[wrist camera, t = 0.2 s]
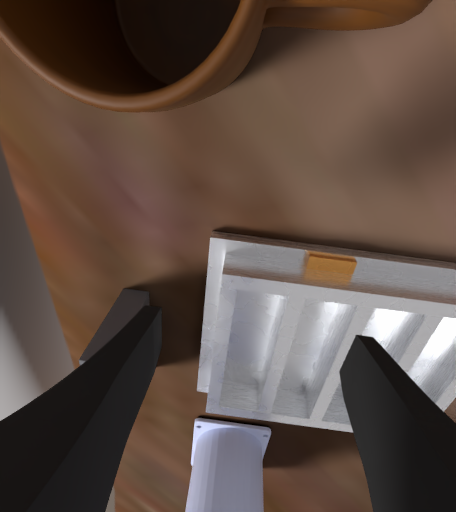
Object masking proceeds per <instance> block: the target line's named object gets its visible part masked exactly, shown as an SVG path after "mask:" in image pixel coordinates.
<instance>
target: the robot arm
mask: <svg viewBox="0 0 456 512" xmlns="http://www.w3.org/2000/svg"><path fill="white" fill-rule="evenodd" d="M161 347H162V307H154V306H147V305H145V306H143V307H142V308H141V309H140V310H139V311H138V312H137V313H136V314H135V315H134V317H133V318H132V319H131V320H130V321H129V322H128V323H127V324H126V325H125V326H124V327H123V328H122V329H121V330H120V331H119V332H118V333H117V334H115V335H114V336H113V337H112V338H111V339H110V340H109V341H108V342H107V343H106V344H105V345H104V346H103V347H102V348H100V349H99V350H98V351H97V352H96V353H95V354H93V355H92V356H91V357H90V358H89V359H88V360H86V361H85V362H84V363H83V364H82V365H80V366H79V367H78V368H77V369H75V370H74V371H73V372H72V373H71V374H69V375H68V376H67V377H65V378H64V379H63V380H61V381H60V382H58V383H57V384H56V385H54V386H53V387H52V388H50V389H49V390H48V391H46V392H44V393H43V394H42V395H40V396H39V397H37V398H36V399H34V400H33V401H31V402H30V403H28V404H27V405H25V406H24V407H22V408H21V409H19V410H18V411H16V412H14V413H13V414H11V415H10V416H8V417H6V418H5V419H3V420H1V421H0V512H105V511H106V507H107V503H108V500H109V497H110V493H111V490H112V487H113V484H114V480H115V477H116V474H117V470H118V467H119V464H120V461H121V458H122V454H123V451H124V448H125V445H126V442H127V440H128V437H129V434H130V431H131V429H132V427H133V424H134V422H135V419H136V417H137V414H138V412H139V409H140V407H141V404H142V402H143V399H144V397H145V395H146V392H147V390H148V387H149V385H150V382H151V380H152V377H153V375H154V372H155V368H156V365H157V361H158V358H159V354H160V350H161ZM339 374H340V380H341V387H342V393H343V398H344V402H345V406H346V409H347V413H348V416H349V420H350V423H351V426H352V430H353V433H354V436H355V440H356V443H357V447H358V450H359V453H360V457H361V460H362V463H363V467H364V471H365V475H366V478H367V483H368V487H369V492H370V497H371V502H372V507H373V512H456V423H455V422H454V421H453V420H452V419H451V418H449V417H448V416H447V415H446V414H445V413H444V412H443V411H442V410H441V409H440V408H439V407H438V406H437V405H436V404H435V403H434V402H433V401H432V400H431V399H430V398H429V397H428V396H427V395H426V394H425V393H424V391H423V390H422V389H421V388H420V387H419V386H418V385H417V384H416V383H415V382H414V381H413V380H412V379H411V378H410V377H409V376H408V374H407V373H406V372H405V371H404V370H403V369H402V368H401V367H400V366H399V365H398V363H397V362H396V361H395V360H394V359H393V358H392V357H391V356H390V355H389V354H388V352H387V351H386V350H385V349H384V348H383V347H382V346H381V345H380V344H379V343H378V342H377V341H376V340H375V339H374V337H371V336H363V335H356V336H355V338H354V340H353V343H352V345H351V347H350V349H349V351H348V353H347V356H346V358H345V360H344V362H343V364H342V366H341V369H340V371H339ZM270 436H271V429H270V428H268V427H262V426H255V425H247V424H240V423H233V422H226V421H218V420H211V419H204V418H197V419H195V424H194V435H193V446H192V458H191V465H192V466H193V467H192V473H191V479H190V486H189V492H188V498H187V505H186V511H185V512H263V466H262V460H263V457H264V454H265V451H266V448H267V445H268V442H269V439H270Z"/></svg>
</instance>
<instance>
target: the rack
mask: <svg viewBox="0 0 456 512" xmlns="http://www.w3.org/2000/svg"><path fill="white" fill-rule="evenodd" d="M356 335H363V336H371V337H374V339H375V340H376V341H377V342H378V343H379V344H380V345H381V346H382V347H383V348H384V349H385V350H386V351H387V352H388V354H389V355H390V356H391V357H392V358H393V359H394V360H395V361H396V362H397V363H398V365H399V366H400V367H401V368H402V369H403V370H404V371H405V372H406V373H407V374H408V376H409V377H410V378H411V379H412V380H413V381H414V382H415V383H416V384H417V385H418V386H419V387H420V388H421V389H422V390H423V391H424V393H425V394H426V395H427V396H428V397H429V398H430V399H431V400H432V401H433V402H434V403H435V404H436V405H437V406H438V407H439V408H440V409H441V410H442V411H443V412H444V411H445V410H446V408H447V407H448V406H449V405H450V404H451V402H452V401H453V400H454V399H455V397H456V263H454V262H446V261H438V260H431V259H423V258H416V257H408V256H400V255H393V254H385V253H378V252H370V251H362V250H355V249H347V248H339V247H332V246H324V245H317V244H309V243H301V242H294V241H286V240H279V239H271V238H263V237H256V236H248V235H240V234H233V233H225V232H218V231H212V233H211V237H210V247H209V259H208V270H207V281H206V293H205V304H204V316H203V327H202V339H201V350H200V362H199V373H198V385H197V391H200V392H207V393H208V397H207V406H206V412H207V413H214V414H221V415H229V416H236V417H243V418H250V419H258V420H265V421H272V422H280V423H287V424H294V425H301V426H309V427H316V428H323V429H330V430H338V431H345V432H352V433H353V430H352V426H351V423H350V420H349V416H348V413H347V409H346V406H345V402H344V398H343V393H342V387H341V380H340V374H339V371H340V369H341V366H342V364H343V362H344V360H345V358H346V356H347V353H348V351H349V349H350V347H351V345H352V343H353V340H354V338H355V336H356Z"/></svg>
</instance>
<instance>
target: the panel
mask: <svg viewBox="0 0 456 512" xmlns="http://www.w3.org/2000/svg"><path fill="white" fill-rule="evenodd" d="M145 305H147V306H150V304H149V292H147V291H139V290H132V289H123V290H122V292H121V294H120V295H119V297H118V298H117V300H116V302H115V303H114V305H113V306H112V308H111V310H110V311H109V313H108V314H107V316H106V318H105V319H104V321H103V322H102V324H101V326H100V327H99V329H98V330H97V332H96V334H95V335H94V337H93V338H92V340H91V341H90V343H89V345H88V346H87V348H86V349H85V351H84V353H83V354H82V356H81V357H80V359H79V363H80V365H82V364H83V363H84V362H85V361H86V360H88V359H89V358H90V357H91V356H92V355H93V354H95V353H96V352H97V351H98V350H99V349H100V348H102V347H103V346H104V345H105V344H106V343H107V342H108V341H109V340H110V339H111V338H112V337H113V336H114V335H115V334H117V333H118V332H119V331H120V330H121V329H122V328H123V327H124V326H125V325H126V324H127V323H128V322H129V321H130V320H131V319H132V318H133V317H134V315H135V314H136V313H137V312H138V311H139V310H140V309H141V308H142V307H143V306H145Z"/></svg>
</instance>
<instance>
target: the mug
mask: <svg viewBox="0 0 456 512" xmlns="http://www.w3.org/2000/svg"><path fill="white" fill-rule="evenodd" d="M431 1H432V0H0V38H1V39H2V40H3V41H4V42H5V44H6V45H7V46H8V47H9V48H10V49H11V50H12V51H13V53H14V54H15V55H16V56H18V57H19V58H20V59H21V60H22V61H23V62H24V63H25V64H26V65H27V66H28V67H29V68H30V69H31V70H32V71H33V72H35V73H36V74H37V75H39V76H40V77H41V78H42V79H44V80H45V81H46V82H47V83H49V84H50V85H52V86H53V87H55V88H57V89H58V90H60V91H61V92H63V93H65V94H66V95H68V96H70V97H72V98H75V99H77V100H79V101H81V102H83V103H86V104H89V105H92V106H95V107H98V108H101V109H106V110H112V111H117V112H159V111H168V110H172V109H176V108H180V107H184V106H187V105H189V104H192V103H195V102H198V101H200V100H202V99H205V98H207V97H209V96H211V95H214V94H216V93H218V92H219V91H221V90H223V89H224V88H226V87H227V86H228V85H229V84H231V83H232V82H233V81H234V80H235V79H236V78H237V77H238V76H239V75H240V74H241V72H242V71H243V70H244V68H245V67H246V65H247V64H248V62H249V61H250V59H251V57H252V55H253V53H254V51H255V49H256V46H257V44H258V41H259V38H260V35H261V31H262V30H263V29H264V28H267V27H275V26H282V27H298V28H309V29H321V30H367V29H377V28H384V27H390V26H395V25H399V24H402V23H404V22H406V21H408V20H410V19H411V18H413V17H415V16H416V15H418V14H420V13H421V12H422V11H423V10H424V9H425V8H426V7H427V6H428V4H429V3H430V2H431Z"/></svg>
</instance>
